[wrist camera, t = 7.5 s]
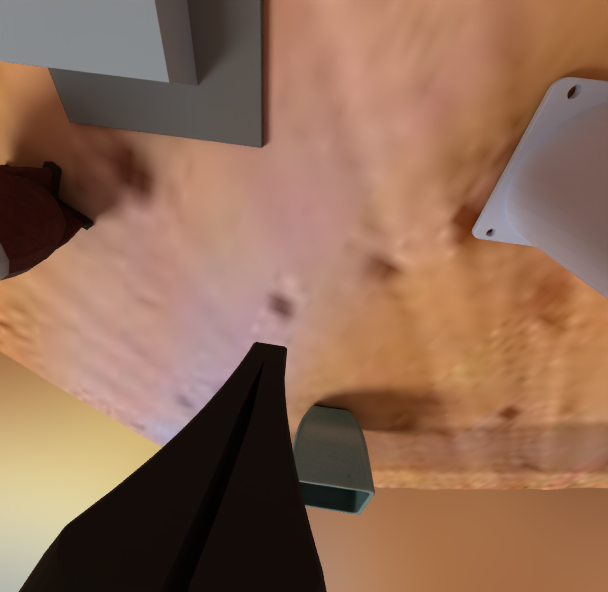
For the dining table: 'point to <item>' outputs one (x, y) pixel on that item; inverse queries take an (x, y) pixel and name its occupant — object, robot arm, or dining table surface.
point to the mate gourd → (33, 217)
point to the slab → (101, 37)
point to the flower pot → (333, 461)
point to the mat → (186, 98)
